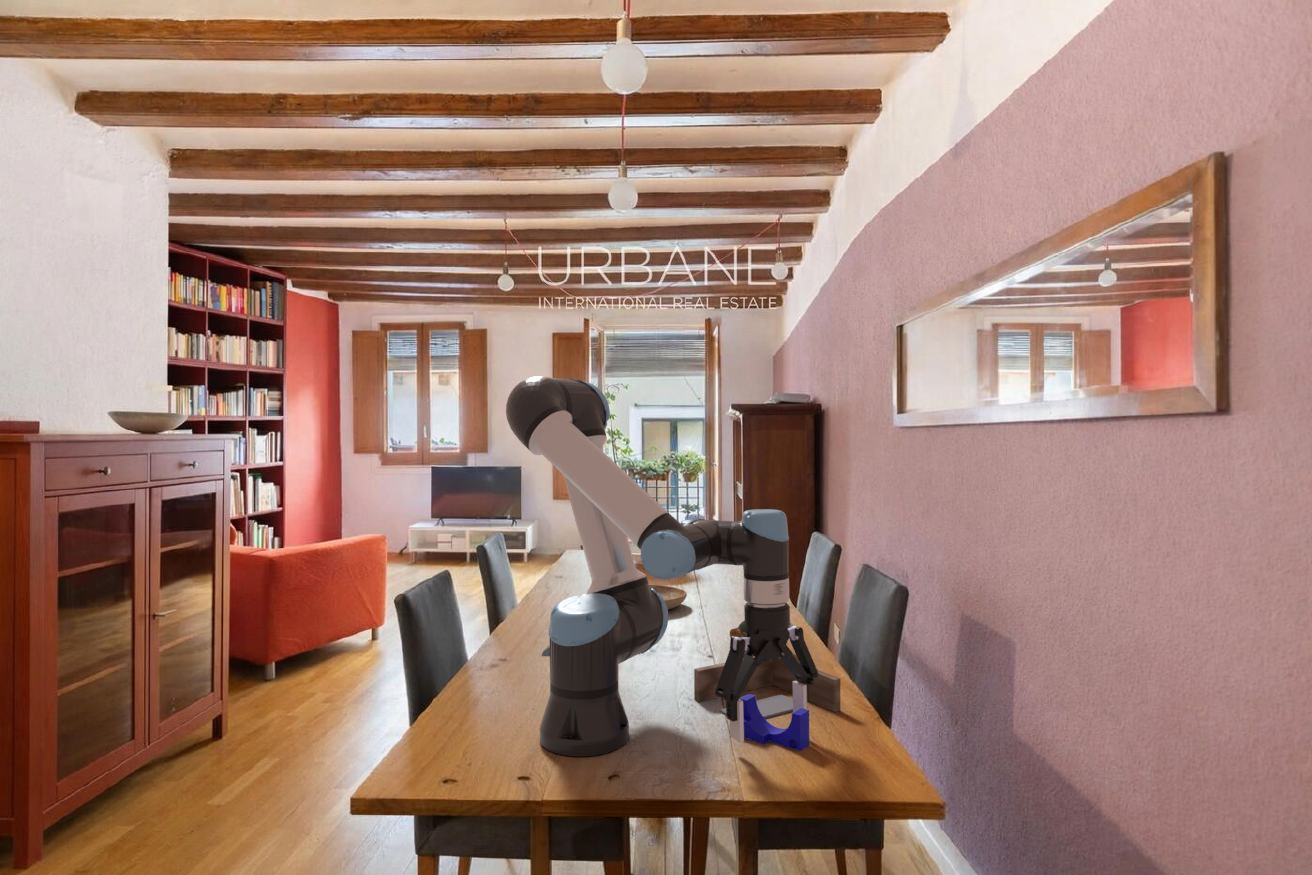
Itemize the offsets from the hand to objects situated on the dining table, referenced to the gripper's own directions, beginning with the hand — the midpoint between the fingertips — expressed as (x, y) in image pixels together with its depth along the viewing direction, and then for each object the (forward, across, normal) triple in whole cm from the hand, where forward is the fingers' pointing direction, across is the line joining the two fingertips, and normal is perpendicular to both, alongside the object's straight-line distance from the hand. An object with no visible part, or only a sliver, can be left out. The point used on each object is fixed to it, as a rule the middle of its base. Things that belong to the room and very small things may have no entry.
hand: (769, 730), depth 123 cm
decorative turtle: (+2, +33, +42) cm, 54 cm away
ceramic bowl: (+1, +31, +92) cm, 97 cm away
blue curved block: (+3, +1, +1) cm, 3 cm away
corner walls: (+2, +11, +14) cm, 18 cm away
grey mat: (+2, +9, +12) cm, 15 cm away
